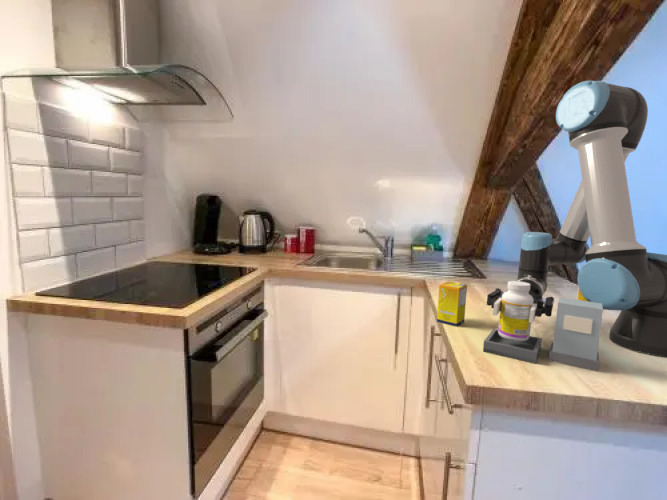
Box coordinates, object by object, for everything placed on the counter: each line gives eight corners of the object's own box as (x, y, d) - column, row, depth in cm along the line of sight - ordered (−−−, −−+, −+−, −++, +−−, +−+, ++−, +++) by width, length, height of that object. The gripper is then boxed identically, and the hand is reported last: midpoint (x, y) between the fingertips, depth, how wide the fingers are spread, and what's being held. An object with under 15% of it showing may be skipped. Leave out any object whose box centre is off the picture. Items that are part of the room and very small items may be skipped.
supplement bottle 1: (504, 329, 94) (510, 278, 92) (533, 337, 90) (540, 284, 88) (492, 335, 90) (498, 282, 88) (522, 344, 85) (528, 288, 83)
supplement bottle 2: (573, 304, 135) (576, 277, 133) (591, 305, 133) (594, 278, 132) (578, 308, 130) (581, 280, 128) (596, 310, 128) (600, 281, 127)
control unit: (597, 360, 86) (604, 303, 84) (597, 371, 80) (606, 310, 78) (550, 350, 90) (557, 296, 89) (548, 360, 85) (555, 302, 83)
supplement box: (444, 317, 114) (447, 280, 112) (464, 321, 110) (467, 284, 109) (436, 321, 109) (438, 283, 108) (456, 326, 105) (459, 287, 104)
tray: (540, 348, 91) (542, 338, 91) (535, 363, 82) (537, 352, 82) (492, 338, 97) (493, 328, 97) (483, 351, 88) (484, 341, 88)
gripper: (489, 273, 108) (468, 288, 89) (570, 285, 98) (566, 304, 79) (487, 299, 109) (465, 319, 90) (567, 313, 99) (562, 339, 80)
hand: (512, 312), depth 84 cm, fingers closed on supplement bottle 1, 7 cm apart
